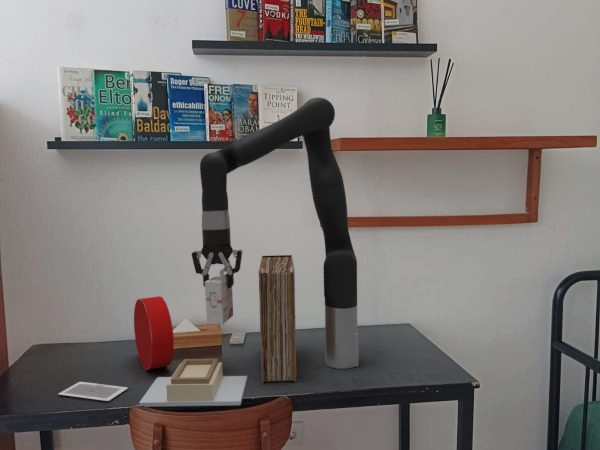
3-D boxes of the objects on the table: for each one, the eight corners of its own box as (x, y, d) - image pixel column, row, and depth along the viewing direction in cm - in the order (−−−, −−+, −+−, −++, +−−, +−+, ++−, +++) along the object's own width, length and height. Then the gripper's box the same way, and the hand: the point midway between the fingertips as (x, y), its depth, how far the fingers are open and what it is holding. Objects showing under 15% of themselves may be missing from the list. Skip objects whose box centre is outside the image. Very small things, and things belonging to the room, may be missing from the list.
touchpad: (108, 405, 119) (108, 396, 119) (57, 398, 123) (57, 389, 123) (128, 391, 127) (128, 383, 126) (80, 385, 131) (79, 377, 131)
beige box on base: (247, 379, 132) (246, 356, 131) (240, 405, 117) (239, 380, 116) (157, 380, 132) (156, 358, 131) (139, 406, 117) (138, 381, 116)
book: (296, 383, 129) (294, 270, 126) (261, 384, 128) (258, 271, 126) (293, 349, 154) (292, 254, 151) (264, 350, 154) (261, 255, 151)
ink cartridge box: (217, 315, 142) (215, 264, 140) (233, 315, 140) (231, 264, 139) (205, 324, 133) (203, 270, 132) (223, 324, 132) (221, 270, 131)
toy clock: (175, 375, 135) (172, 304, 133) (153, 380, 132) (150, 307, 130) (155, 353, 152) (152, 290, 150) (135, 357, 149) (132, 292, 147)
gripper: (244, 225, 138) (246, 284, 140) (192, 226, 138) (195, 285, 140) (240, 227, 131) (243, 290, 132) (186, 229, 131) (189, 291, 132)
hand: (218, 287), depth 136 cm, fingers closed on ink cartridge box, 5 cm apart
